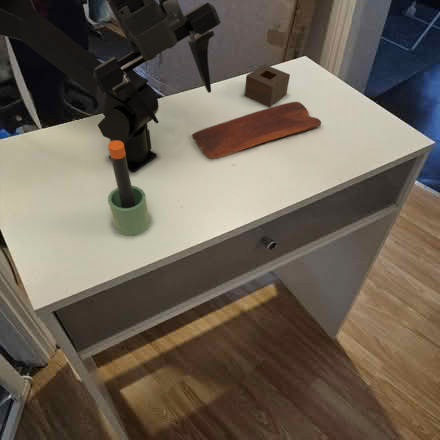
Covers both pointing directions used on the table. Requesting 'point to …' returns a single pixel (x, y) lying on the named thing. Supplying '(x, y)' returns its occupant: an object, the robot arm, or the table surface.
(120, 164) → the stylus
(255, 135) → the wooden tablet
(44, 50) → the robot arm
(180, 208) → the table surface
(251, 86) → the pen stand
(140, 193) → the pen cup
